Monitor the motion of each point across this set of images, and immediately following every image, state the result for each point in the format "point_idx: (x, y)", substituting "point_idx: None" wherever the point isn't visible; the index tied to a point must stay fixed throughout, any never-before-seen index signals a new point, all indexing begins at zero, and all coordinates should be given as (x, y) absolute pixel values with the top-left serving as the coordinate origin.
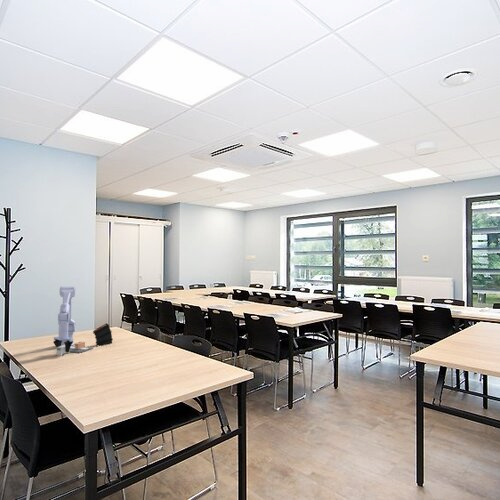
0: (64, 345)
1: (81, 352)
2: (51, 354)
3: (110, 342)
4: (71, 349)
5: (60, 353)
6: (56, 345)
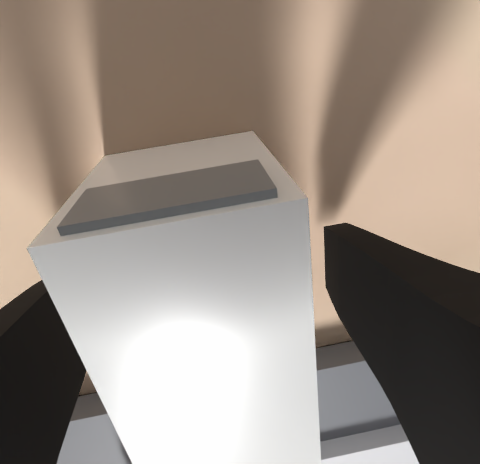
0: (279, 443)
1: None
2: (395, 104)
3: None
4: None
5: (111, 166)
6: (440, 293)
